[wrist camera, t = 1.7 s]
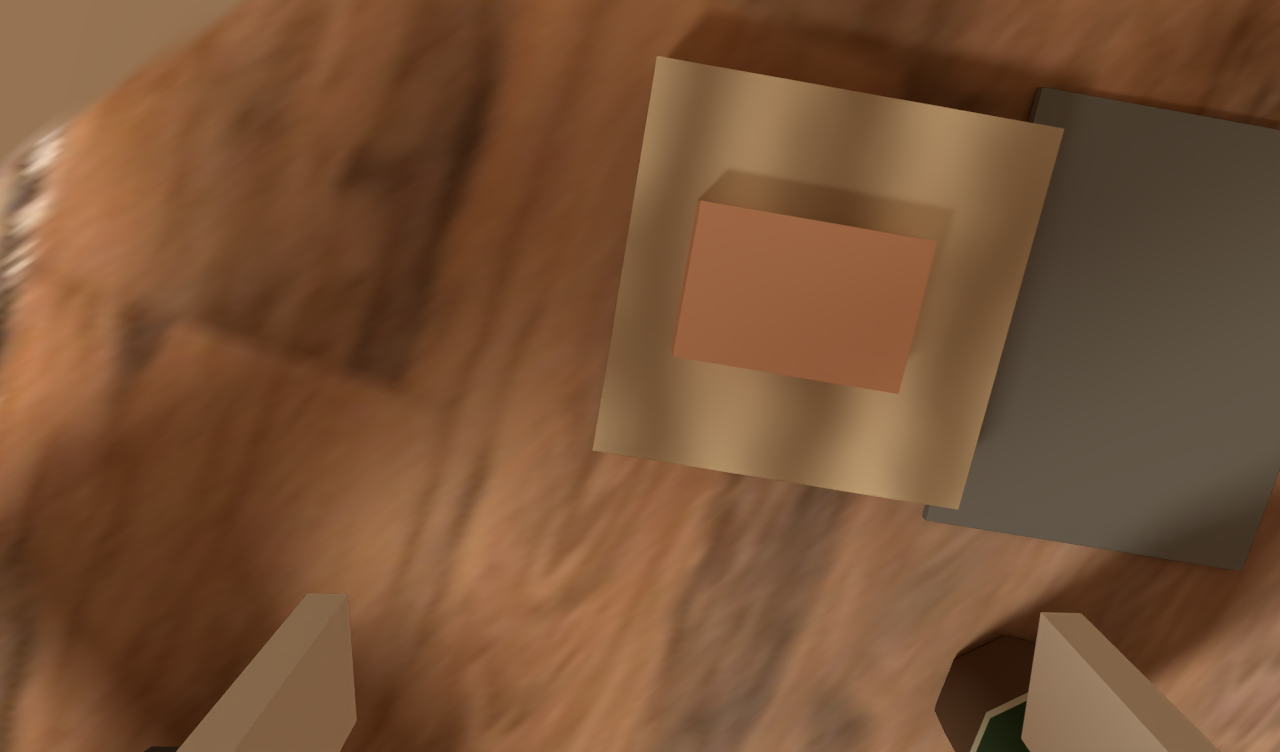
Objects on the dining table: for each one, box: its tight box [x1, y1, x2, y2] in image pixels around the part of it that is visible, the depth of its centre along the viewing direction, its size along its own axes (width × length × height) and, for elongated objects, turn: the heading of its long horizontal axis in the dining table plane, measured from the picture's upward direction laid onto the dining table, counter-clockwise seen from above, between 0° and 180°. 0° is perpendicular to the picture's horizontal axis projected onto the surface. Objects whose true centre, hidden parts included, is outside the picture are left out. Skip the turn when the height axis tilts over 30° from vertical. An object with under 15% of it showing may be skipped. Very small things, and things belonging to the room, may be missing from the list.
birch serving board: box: [593, 56, 1064, 510], centre depth 35 cm, size 16×16×4 cm
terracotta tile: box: [671, 200, 937, 394], centre depth 32 cm, size 9×6×2 cm, turn 80°
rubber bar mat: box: [923, 87, 1280, 571], centre depth 37 cm, size 16×20×1 cm
